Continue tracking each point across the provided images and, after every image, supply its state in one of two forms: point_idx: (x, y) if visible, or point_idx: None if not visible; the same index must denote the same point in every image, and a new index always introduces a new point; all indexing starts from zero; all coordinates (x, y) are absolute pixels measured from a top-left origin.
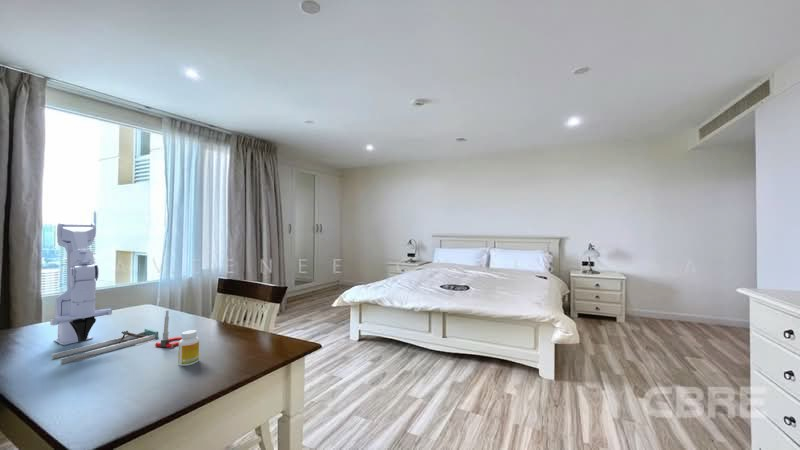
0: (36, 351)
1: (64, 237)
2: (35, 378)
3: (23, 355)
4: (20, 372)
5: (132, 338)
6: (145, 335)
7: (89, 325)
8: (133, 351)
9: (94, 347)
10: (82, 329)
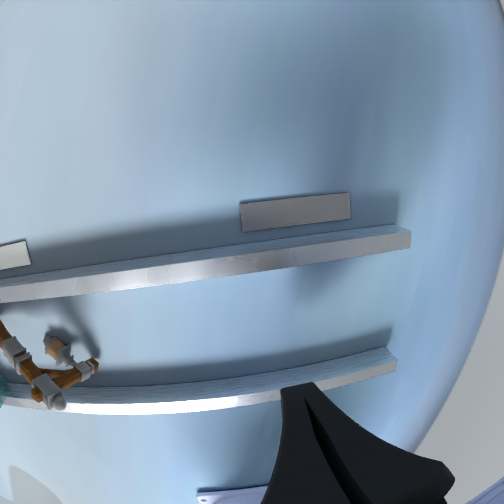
0: None
1: None
2: (476, 107)
3: None
4: (483, 251)
5: None
6: (5, 381)
7: (304, 486)
8: (58, 113)
9: (213, 385)
10: (352, 450)
